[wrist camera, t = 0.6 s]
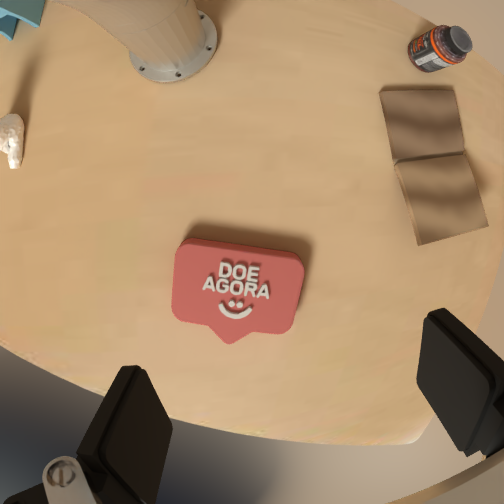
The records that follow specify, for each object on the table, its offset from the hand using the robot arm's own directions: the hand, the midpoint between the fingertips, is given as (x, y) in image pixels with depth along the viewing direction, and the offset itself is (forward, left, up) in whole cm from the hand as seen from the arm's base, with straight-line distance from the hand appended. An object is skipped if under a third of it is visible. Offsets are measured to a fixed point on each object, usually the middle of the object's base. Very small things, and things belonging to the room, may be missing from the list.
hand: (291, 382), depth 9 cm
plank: (+3, +28, -31) cm, 42 cm away
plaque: (+12, -6, -35) cm, 37 cm away
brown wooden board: (-8, +28, -34) cm, 45 cm away
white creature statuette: (-23, -37, -34) cm, 56 cm away
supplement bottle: (-19, +31, -34) cm, 50 cm away
